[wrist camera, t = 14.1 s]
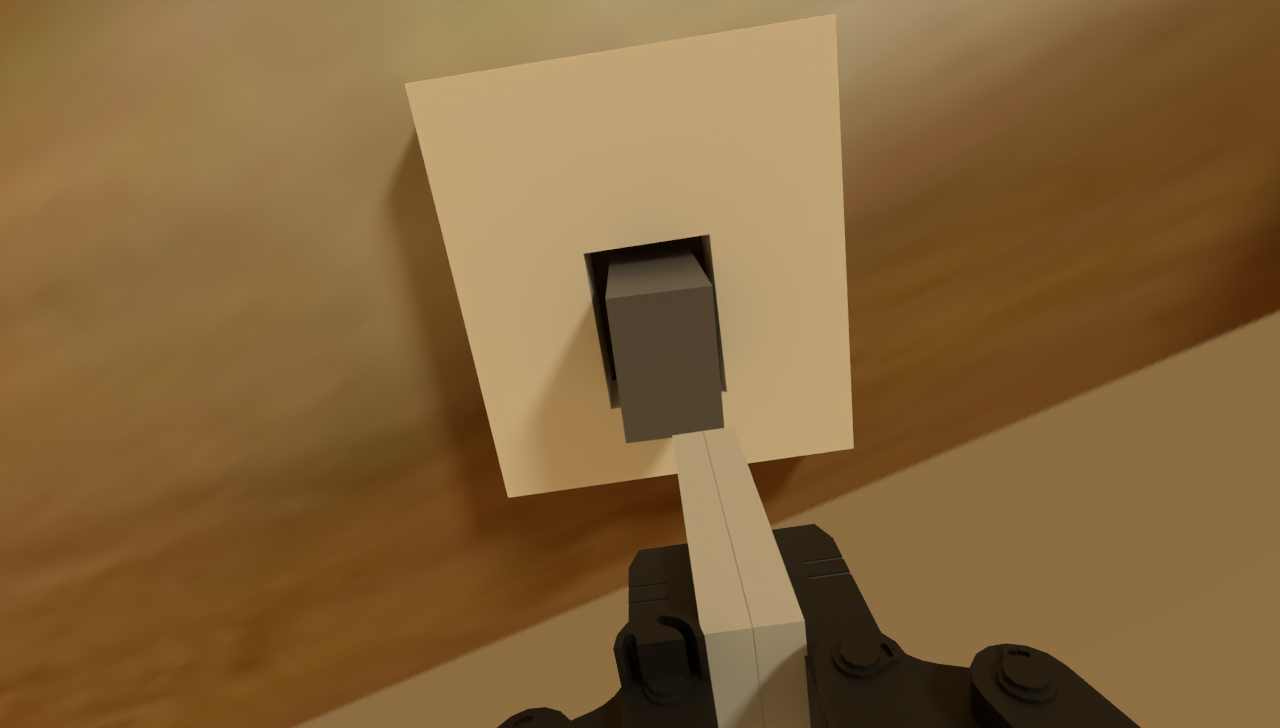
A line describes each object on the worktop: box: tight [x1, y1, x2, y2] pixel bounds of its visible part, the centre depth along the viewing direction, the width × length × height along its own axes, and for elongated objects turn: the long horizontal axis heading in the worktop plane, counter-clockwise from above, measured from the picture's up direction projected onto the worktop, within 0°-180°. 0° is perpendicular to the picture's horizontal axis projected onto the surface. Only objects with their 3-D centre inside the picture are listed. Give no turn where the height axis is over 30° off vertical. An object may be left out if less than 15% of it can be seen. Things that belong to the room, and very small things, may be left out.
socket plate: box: [405, 14, 854, 498], centre depth 32 cm, size 18×20×4 cm
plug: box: [605, 244, 724, 443], centre depth 29 cm, size 4×6×10 cm, turn 7°
